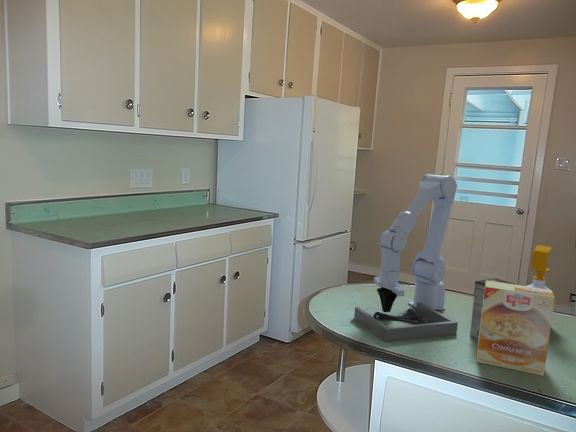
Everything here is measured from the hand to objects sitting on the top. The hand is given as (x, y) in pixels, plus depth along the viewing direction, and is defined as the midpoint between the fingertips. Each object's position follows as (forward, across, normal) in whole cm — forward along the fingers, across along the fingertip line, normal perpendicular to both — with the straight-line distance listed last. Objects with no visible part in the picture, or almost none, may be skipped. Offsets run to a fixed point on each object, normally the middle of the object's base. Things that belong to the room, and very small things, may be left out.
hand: (386, 311), depth 144 cm
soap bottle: (+1, +17, +42) cm, 46 cm away
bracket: (+2, +4, +1) cm, 5 cm away
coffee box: (+1, +22, +20) cm, 30 cm away
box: (+1, +9, 0) cm, 9 cm away
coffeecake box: (+1, +37, +12) cm, 39 cm away
